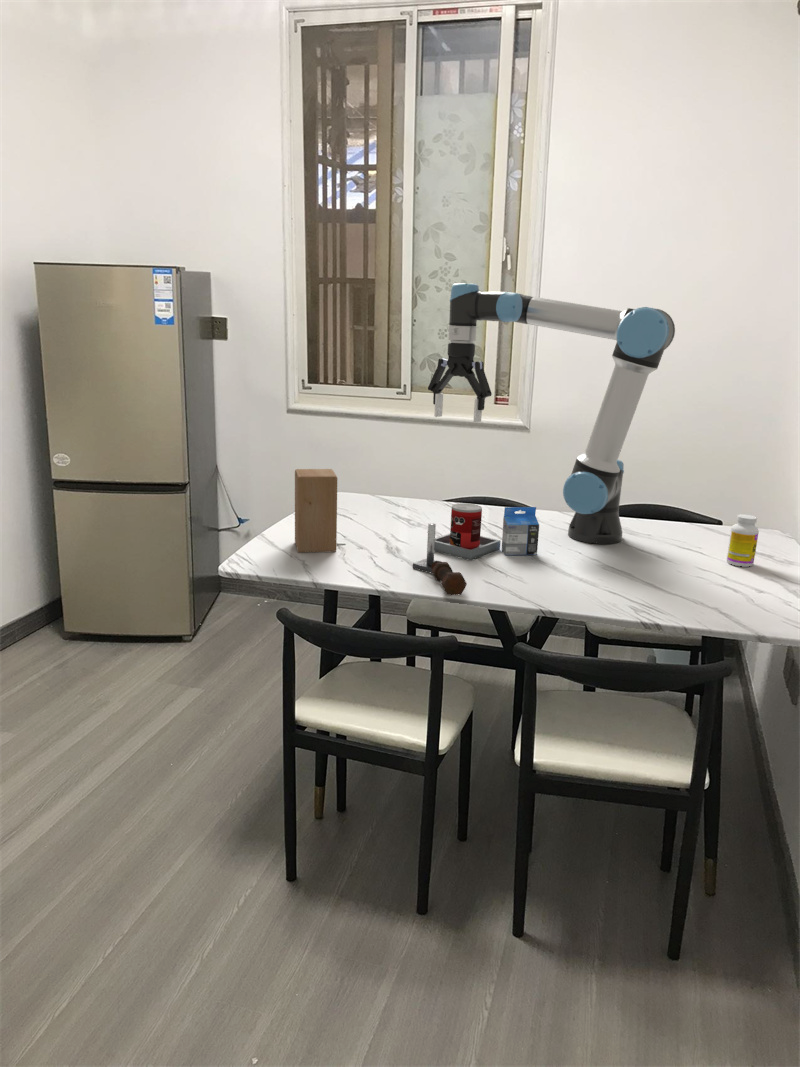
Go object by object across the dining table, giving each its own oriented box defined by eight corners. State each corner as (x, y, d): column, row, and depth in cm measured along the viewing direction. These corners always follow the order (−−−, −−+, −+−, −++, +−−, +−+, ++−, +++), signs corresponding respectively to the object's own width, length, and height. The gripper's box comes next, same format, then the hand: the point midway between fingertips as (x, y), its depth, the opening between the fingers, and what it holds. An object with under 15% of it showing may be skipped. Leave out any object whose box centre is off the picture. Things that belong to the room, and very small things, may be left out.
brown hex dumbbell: (439, 581, 191) (457, 601, 177) (422, 571, 190) (439, 591, 176) (451, 560, 191) (470, 579, 177) (434, 551, 189) (452, 569, 175)
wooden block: (297, 553, 202) (297, 476, 197) (294, 542, 212) (294, 468, 206) (336, 552, 204) (337, 476, 199) (331, 541, 214) (332, 468, 208)
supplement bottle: (753, 569, 203) (761, 521, 200) (726, 565, 206) (733, 517, 202) (752, 562, 209) (760, 515, 206) (725, 558, 212) (732, 512, 208)
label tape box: (504, 556, 207) (508, 510, 203) (500, 551, 211) (504, 506, 207) (537, 555, 208) (541, 510, 205) (532, 551, 212) (536, 506, 209)
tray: (499, 549, 212) (500, 540, 211) (470, 560, 201) (471, 551, 201) (458, 539, 220) (459, 530, 219) (428, 549, 210) (429, 540, 209)
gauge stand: (446, 568, 195) (449, 524, 192) (432, 573, 191) (434, 528, 188) (427, 562, 199) (429, 519, 196) (412, 567, 194) (414, 523, 191)
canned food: (447, 542, 214) (449, 503, 211) (476, 542, 215) (478, 503, 212) (452, 550, 206) (454, 510, 203) (482, 550, 207) (484, 510, 204)
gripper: (417, 339, 223) (414, 415, 228) (492, 344, 207) (486, 425, 213) (434, 339, 228) (430, 413, 234) (507, 344, 213) (501, 423, 219)
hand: (457, 419), depth 224 cm, fingers open, 13 cm apart
